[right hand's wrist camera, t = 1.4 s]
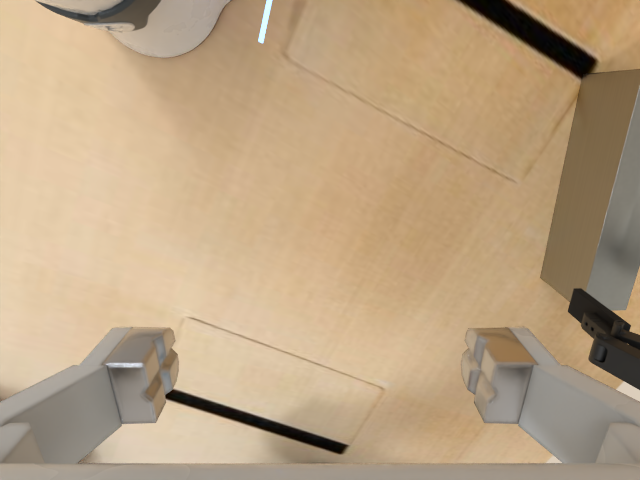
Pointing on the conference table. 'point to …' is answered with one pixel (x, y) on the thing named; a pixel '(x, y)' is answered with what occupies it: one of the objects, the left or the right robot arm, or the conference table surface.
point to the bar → (599, 194)
